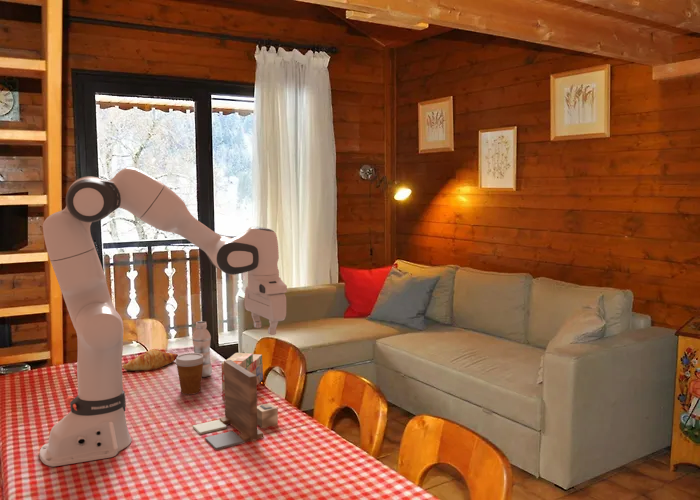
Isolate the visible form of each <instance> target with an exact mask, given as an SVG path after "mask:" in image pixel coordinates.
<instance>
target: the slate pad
mask: <svg viewBox="0 0 700 500" xmlns="http://www.w3.org/2000/svg"><path fill="white" fill-rule="evenodd" d="M204 440H205V441H206V442H207V443H208V444H209V445H210V446H211V447H212V448H213V449H214V450H215V451H218V450H221V449H225V448H230V447H232V446H233V447H234V446H237V445H238V446H239V445H241V444H244V443H245V442H244V440H243V439H241V438H240V437H239V434H237V433H236V432H234V431H233V430H231V431H227V432H221V433H218V434H214V435H210V436H205V437H204Z"/></svg>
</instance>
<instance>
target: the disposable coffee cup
mask: <svg viewBox="0 0 700 500" xmlns="http://www.w3.org/2000/svg"><path fill="white" fill-rule="evenodd" d="M174 362H175V364H176V368H177V373H178V380H179V381H178V382H179V386H180V393H182V394H184V395H194V394H195V395H196V394H198V393H200V392H201V388H202V378H203V377H202V369H203V362H204V358H203V355H202V354H199V353H194V352H189V353H188V352H187V353H183V354H178V356H177V358H176V360H175V361H174Z"/></svg>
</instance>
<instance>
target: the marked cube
mask: <svg viewBox="0 0 700 500" xmlns="http://www.w3.org/2000/svg"><path fill="white" fill-rule="evenodd" d="M278 415H279V413H278V407H277V406H275V404H272V403H271V402H268V403H262V404H259V405H258V404H257V426H258V427H260V428H262V429H263V428H267V427H273V426H276V425H279V417H278Z"/></svg>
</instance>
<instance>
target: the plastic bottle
mask: <svg viewBox="0 0 700 500" xmlns="http://www.w3.org/2000/svg"><path fill="white" fill-rule="evenodd" d="M207 326H208V325H207V321H203V320H199V321H196V322H195V330H194V332H193V334H192V336H191V340H192V346H193V353H199V354H202V355H203V358H204V362H203V369H202V378H205V377H209V376H211V374H212V371H213V365H212V361H211V360H212V359H211V353H210V351H211V349H210V348H211V340H212V339H211V338H212V336H211V333H210V332H209V330H208V329H207Z"/></svg>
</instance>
